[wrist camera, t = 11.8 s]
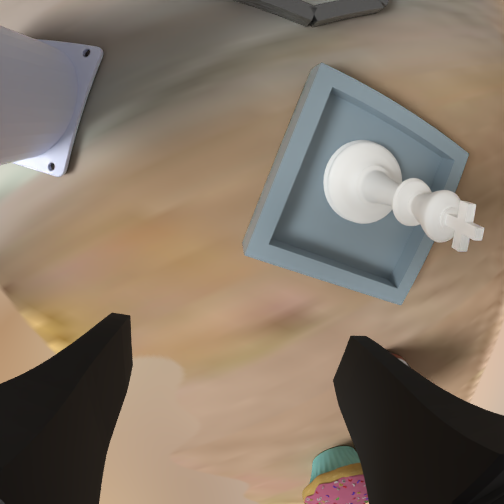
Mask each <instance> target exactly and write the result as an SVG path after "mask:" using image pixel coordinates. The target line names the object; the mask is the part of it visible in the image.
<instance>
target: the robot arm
mask: <svg viewBox="0 0 504 504" xmlns="http://www.w3.org/2000/svg"><path fill="white" fill-rule="evenodd" d="M89 50H90V51H91V52H90V55H89V56H87V57H85V53H86V52H87V51H89ZM102 57H103V50H102V49H101V48H99V47H97V46H91V45H84V44H77V43H69V42H61V41H52V40H41V39H33V38H31V37H29V36H26V35H23V34H21V33H18V32H16V31H13V30H10V29H8V28H5V27H2V26H0V165H3V164H7V163H14V164H17V165H21V166H24V167H27V168H30V169H33V170H37V171H40V172H43V173H46V174H49V175H53V176H56V177H60V176H63V175H64V174H65V173H66V171H67V168H68V164H69V159H70V155H71V151H72V148H73V144H74V140H75V136H76V133H77V129H78V126H79V123H80V119H81V116H82V113H83V110H84V106H85V103H86V100H87V97H88V95H89V92H90V89H91V86H92V83H93V80H94V78H95V75H96V72H97V70H98V67H99V65H100V62H101V60H102ZM52 163H54V165H55V168H54V170H52V168H51V164H52ZM132 366H133V361H132V345H131V322H130V315H123V314H117V313H111V314H110V315H108V316H107V317H106V318H104V319H103V320H102V321H101V322H99V323H98V324H97V325H95V326H94V327H93V328H92V329H90V330H89V331H88V332H87V333H85V334H84V335H83V336H81V337H80V338H79V339H77V340H76V341H75V342H73V343H72V344H71V345H69V346H68V347H66V348H65V349H63V350H62V351H60V352H59V353H57V354H56V355H54V356H53V357H52V358H50V359H49V360H47V361H45V362H44V363H42V364H40V365H39V366H37V367H35V368H33V369H31V370H29V371H27V372H26V373H24V374H22V375H20V376H17V377H15V378H13V379H11V380H8V381H6V382H3V383H1V384H0V504H99V498H100V490H101V483H102V476H103V470H104V465H105V459H106V454H107V451H108V447H109V443H110V440H111V437H112V434H113V431H114V428H115V425H116V422H117V419H118V416H119V413H120V410H121V407H122V405H123V402H124V399H125V396H126V393H127V389H128V385H129V380H130V376H131V371H132ZM333 382H334V387H335V392H336V396H337V400H338V404H339V407H340V410H341V412H342V415H343V418H344V420H345V423H346V425H347V428H348V431H349V433H350V436H351V438H352V441H353V443H354V446H355V449H356V451H357V454H358V457H359V460H360V463H361V467H362V471H363V475H364V480H365V484H366V489H367V494H368V500H369V504H504V416H503V415H499V414H496V413H493V412H490V411H488V410H485V409H482V408H480V407H478V406H475V405H473V404H470V403H468V402H466V401H464V400H462V399H460V398H458V397H456V396H454V395H452V394H451V393H449V392H447V391H445V390H443V389H442V388H440V387H438V386H437V385H435V384H434V383H432V382H430V381H429V380H427V379H426V378H424V377H423V376H421V375H420V374H419V373H417V372H416V371H414V370H413V369H411V368H410V367H409V366H407V365H406V364H405V363H403V362H402V361H401V360H399V359H398V358H397V357H395V356H394V355H393V354H391V353H390V352H389V351H387V350H386V349H384V348H383V347H382V346H380V345H379V344H378V343H376V342H375V341H373V340H372V339H370V338H368V337H367V336H350V339H349V341H348V344H347V347H346V349H345V352H344V355H343V357H342V360H341V362H340V365H339V367H338V370H337V372H336V374H335V377H334V379H333Z"/></svg>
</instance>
